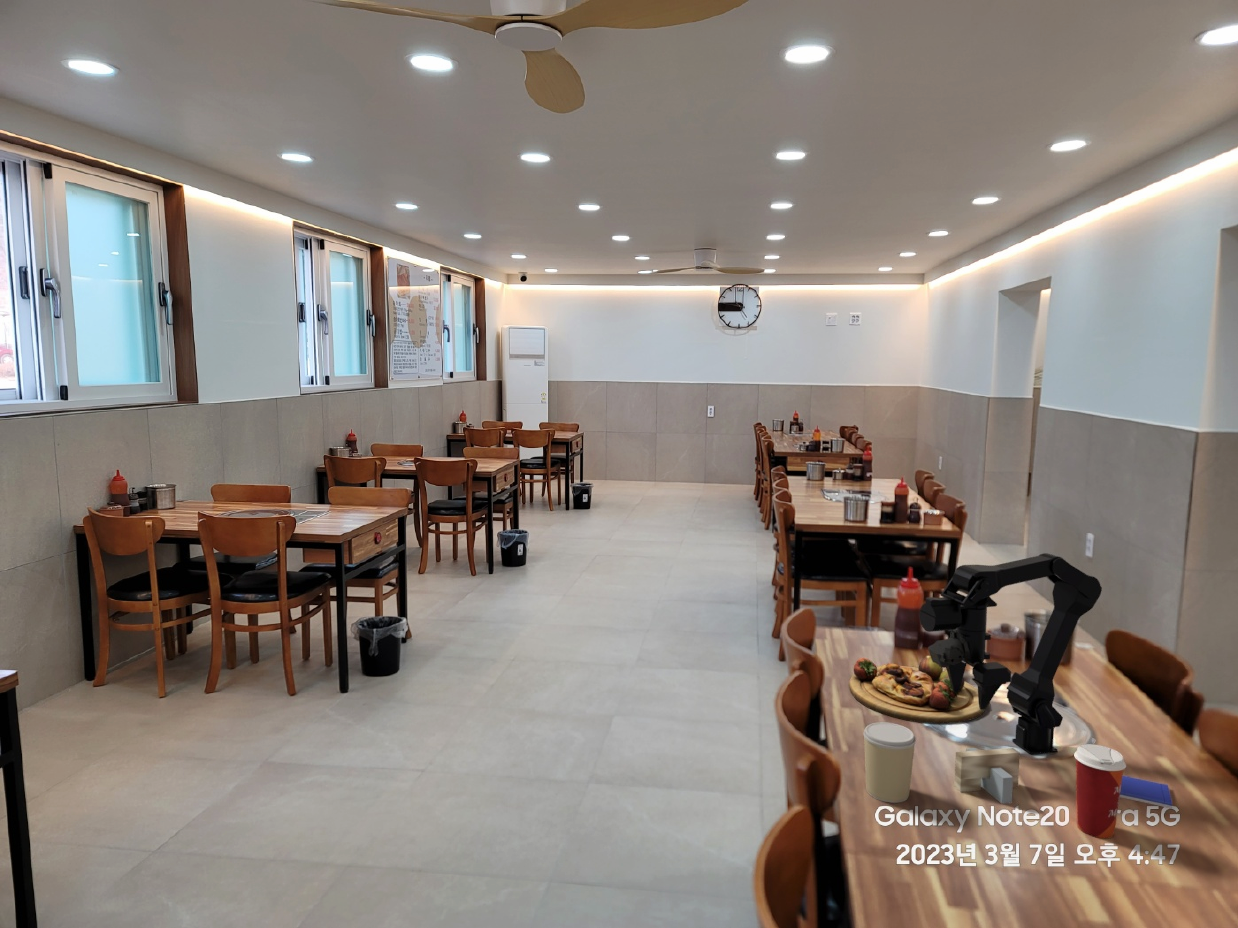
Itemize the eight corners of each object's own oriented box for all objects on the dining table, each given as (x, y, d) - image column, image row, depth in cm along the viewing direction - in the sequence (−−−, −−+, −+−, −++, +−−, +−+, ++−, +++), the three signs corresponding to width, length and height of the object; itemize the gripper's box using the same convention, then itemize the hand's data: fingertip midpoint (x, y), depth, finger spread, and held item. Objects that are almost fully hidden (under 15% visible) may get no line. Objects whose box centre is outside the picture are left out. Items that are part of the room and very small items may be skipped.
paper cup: (1129, 844, 134) (1134, 765, 132) (1079, 839, 135) (1084, 760, 134) (1110, 819, 141) (1115, 744, 140) (1063, 814, 143) (1067, 740, 141)
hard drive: (1093, 786, 151) (1172, 803, 145) (1092, 767, 158) (1167, 783, 152) (1093, 793, 151) (1171, 811, 145) (1092, 775, 158) (1167, 791, 152)
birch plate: (1011, 782, 155) (1013, 747, 154) (1018, 787, 153) (1019, 752, 152) (954, 786, 153) (955, 751, 152) (960, 791, 151) (961, 756, 150)
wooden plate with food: (823, 696, 198) (824, 664, 197) (887, 663, 219) (888, 635, 218) (950, 740, 175) (952, 705, 174) (1007, 699, 196) (1009, 667, 195)
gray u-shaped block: (974, 771, 159) (975, 747, 158) (1011, 802, 147) (1013, 777, 146) (964, 772, 158) (965, 748, 158) (1001, 803, 147) (1003, 777, 146)
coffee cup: (922, 792, 151) (924, 731, 150) (899, 810, 144) (901, 747, 143) (876, 774, 157) (878, 717, 156) (852, 791, 151) (854, 731, 150)
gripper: (911, 616, 171) (909, 686, 173) (962, 645, 153) (959, 722, 154) (958, 613, 173) (955, 682, 175) (1014, 640, 155) (1011, 717, 156)
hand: (968, 700), depth 165 cm, fingers open, 9 cm apart
